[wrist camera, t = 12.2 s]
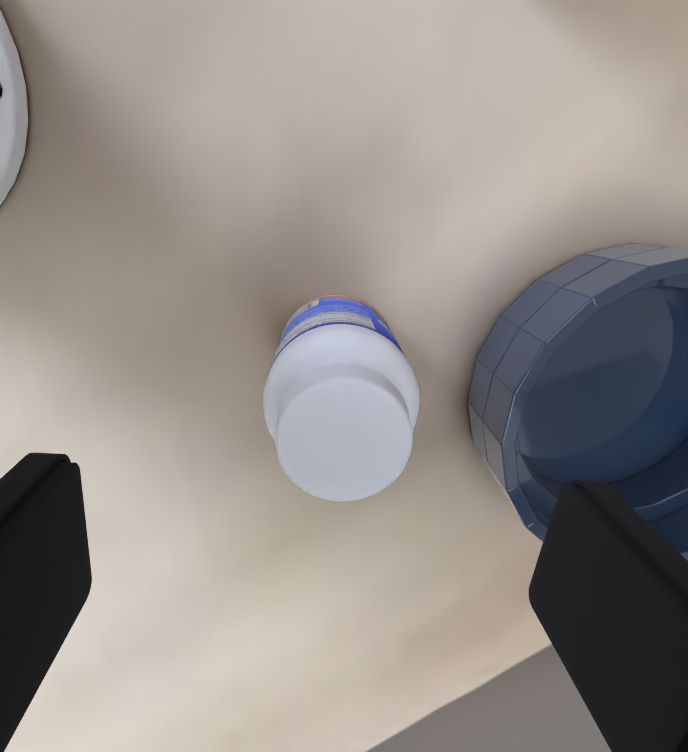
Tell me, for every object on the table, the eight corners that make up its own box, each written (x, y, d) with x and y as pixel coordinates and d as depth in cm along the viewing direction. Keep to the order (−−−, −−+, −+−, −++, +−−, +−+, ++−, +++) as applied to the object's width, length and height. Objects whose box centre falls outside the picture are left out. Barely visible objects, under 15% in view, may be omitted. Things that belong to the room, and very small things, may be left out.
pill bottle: (394, 393, 23) (444, 514, 14) (287, 405, 23) (267, 535, 14) (387, 285, 21) (439, 344, 12) (270, 297, 21) (235, 366, 12)
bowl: (444, 497, 26) (472, 562, 21) (499, 228, 21) (552, 234, 16) (684, 511, 27) (762, 576, 22) (790, 259, 22) (917, 274, 17)
